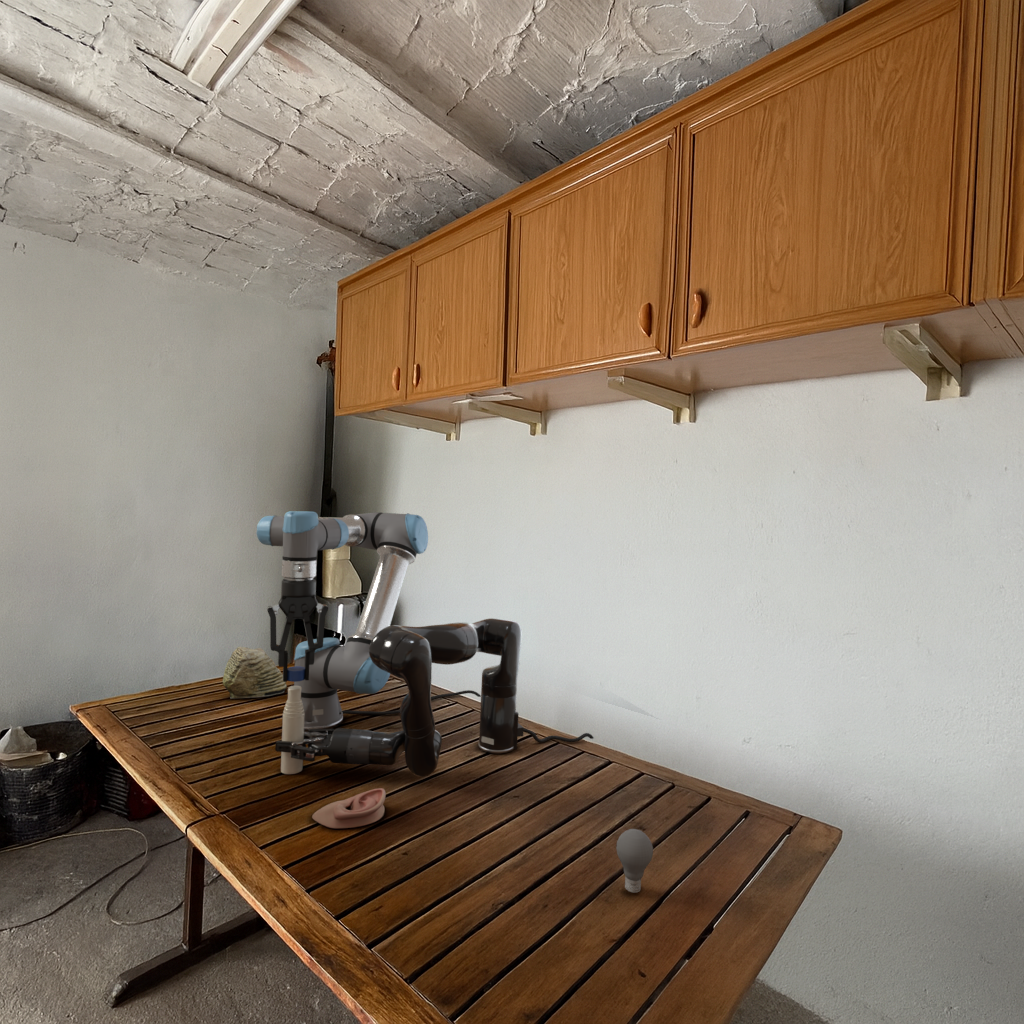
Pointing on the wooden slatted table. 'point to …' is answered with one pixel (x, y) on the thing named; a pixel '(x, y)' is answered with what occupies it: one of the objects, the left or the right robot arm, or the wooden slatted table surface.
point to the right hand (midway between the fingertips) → (281, 741)
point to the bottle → (292, 729)
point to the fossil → (252, 674)
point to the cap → (295, 673)
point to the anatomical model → (353, 810)
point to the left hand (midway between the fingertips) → (295, 679)
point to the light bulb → (634, 857)
